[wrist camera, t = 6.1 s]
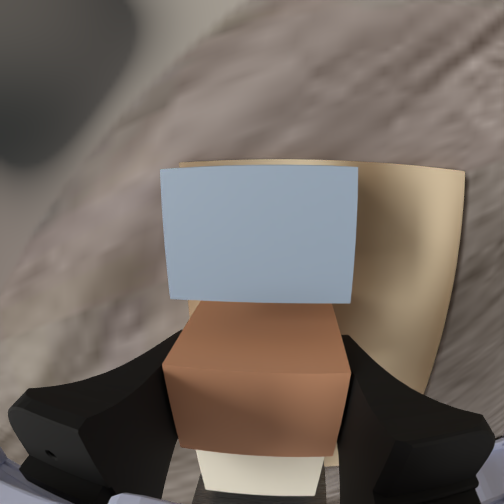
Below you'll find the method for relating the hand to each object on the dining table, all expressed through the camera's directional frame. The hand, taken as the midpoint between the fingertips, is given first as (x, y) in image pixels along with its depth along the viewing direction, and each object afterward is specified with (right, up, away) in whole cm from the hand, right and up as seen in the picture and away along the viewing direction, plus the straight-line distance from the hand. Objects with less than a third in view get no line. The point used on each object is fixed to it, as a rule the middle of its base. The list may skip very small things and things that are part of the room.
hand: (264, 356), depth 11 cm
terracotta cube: (0, +1, +2) cm, 2 cm away
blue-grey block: (0, +5, +1) cm, 6 cm away
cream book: (0, -4, +4) cm, 6 cm away
